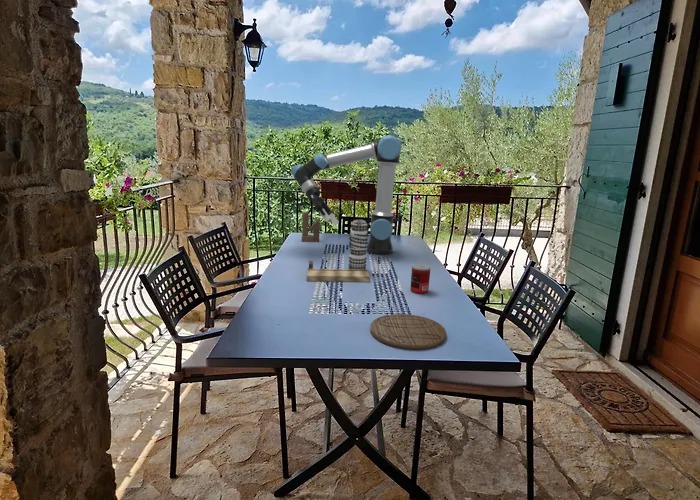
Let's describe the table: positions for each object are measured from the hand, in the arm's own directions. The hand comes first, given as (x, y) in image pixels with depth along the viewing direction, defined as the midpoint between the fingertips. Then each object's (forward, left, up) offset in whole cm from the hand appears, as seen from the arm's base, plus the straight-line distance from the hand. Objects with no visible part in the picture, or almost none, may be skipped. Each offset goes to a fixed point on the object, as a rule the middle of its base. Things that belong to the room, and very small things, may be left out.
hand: (332, 222), depth 226 cm
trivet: (-22, +90, -21) cm, 94 cm away
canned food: (-36, +48, -20) cm, 63 cm away
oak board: (-2, +31, -20) cm, 37 cm away
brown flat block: (+11, +20, -20) cm, 30 cm away
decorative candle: (-12, +20, -20) cm, 31 cm away
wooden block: (+11, -43, -20) cm, 49 cm away
